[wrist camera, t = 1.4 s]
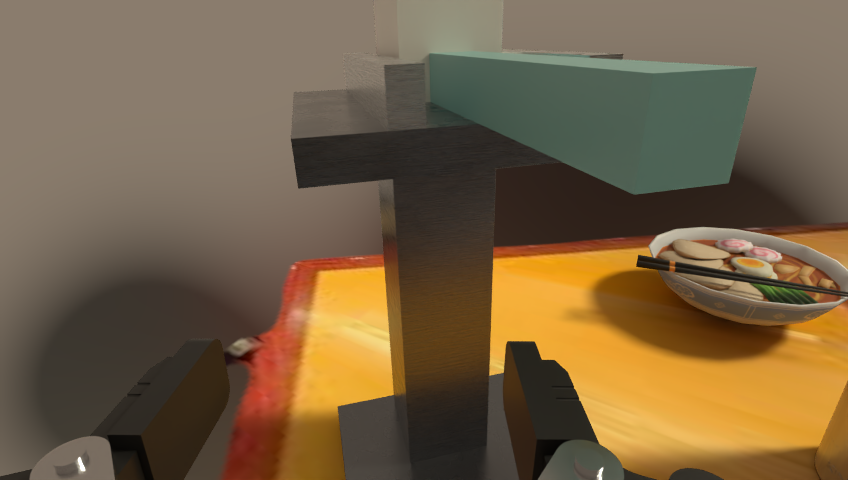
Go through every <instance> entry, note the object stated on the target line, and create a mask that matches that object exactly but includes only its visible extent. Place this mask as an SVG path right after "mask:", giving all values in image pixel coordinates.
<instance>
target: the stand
mask: <svg viewBox="0 0 848 480" xmlns="http://www.w3.org/2000/svg"><path fill="white" fill-rule="evenodd" d="M502 53H513V54H531V55H548V56H566V57H583V58H601V59H618V60H622V59H623V54H616V53H589V52H564V51H539V50H513V49H512V50H510V49H502ZM343 63H344V73H345V84H346V90H330V91H329V90H328V91H311V92H295V93H294V101H293V115H292V131H291V142H292V149H293V155H294V163H295V169H296V176H297V183H298V188H308V187H318V186H328V185H337V184H348V183H358V182H367V181H378V186H379V200H380V213H381V226H382V239H383V252H384V253H383V254H384V267H385V281H386V294H387V307H388V321H389V334H390V348H391V361H392V375H393V388H394V395H392V396H387V397H382V398H377V399H373V400H368V401H363V402H358V403H353V404H348V405H343V406H338V413H339V422H340V431H341V440H342V449H343V458H344V467H345V476H346V480H519V476H518V472H517V467H516V463H515V458H514V453H513V449H512V444H511V439H510V435H509V430H508V425H507V421H506V416H505V411H504V405H503V378H504V373H501V374H496V375H491V376H489V364H490V333H491V302H492V271H493V240H494V210H495V209H494V207H495V206H494V205H495V179H496V169H497V168H507V167H517V166H527V165H537V164H546V163H557V162H562V161H559V160H557V159H555V158H553V157H551V156H548V155H546V154H544V153H542V152H540V151H537V150H535V149H533V148H531V147H529V146H526V145H524V144H522V143H520V142H518V141H515V140H513V139H511V138H509V137H507V136H504V135H502V134H500V133H498V132H496V131H493V130H491V129H489V128H487V127H485V126H482V125H480V124H478V123H476V122H474V121H471V120H469V119H467V118H465V117H463V116H461V115H458V114H456V113H454V112H452V111H450V110H447V109H445V108H443V107H441V106H439V105H436V104H434V103H432V102H426V94H425V63H421V62H415V61H410V60H404V59H398V58H392V57H386V56H381V55H375V54H368V53H348V54H347V53H346V54H343Z"/></svg>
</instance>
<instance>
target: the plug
mask: <svg viewBox="0 0 848 480" xmlns="http://www.w3.org/2000/svg"><path fill="white" fill-rule="evenodd" d="M373 5H374V20H375V35H376V49H377V55H381V56H386V57H392V58H398V59H404V60H410V61H415V62H421V63H425V94H426V102H432V103H434V104H436V105H439V106H441V107H443V108H445V109H447V110H450V111H452V112H454V113H456V114H458V115H461V116H463V117H465V118H467V119H469V120H471V121H474V122H476V123H478V124H480V125H482V126H485V127H487V128H489V129H491V130H493V131H496V132H498V133H500V134H502V135H504V136H507V137H509V138H511V139H513V140H515V141H518V142H520V143H522V144H524V145H526V146H529V147H531V148H533V149H535V150H537V151H540V152H542V153H544V154H546V155H548V156H551V157H553V158H555V159H557V160H559V161H562V162H564V163H566V164H568V165H570V166H573V167H575V168H577V169H579V170H581V171H583V172H586V173H588V174H590V175H592V176H594V177H597V178H599V179H601V180H603V181H605V182H608V183H610V184H612V185H614V186H616V187H619V188H621V189H623V190H625V191H627V192H630V193H632V194H642V193H650V192H658V191H666V190H675V189H682V188H690V187H699V186H707V185H716V184H724V183H729V179H730V175H731V171H732V167H733V163H734V158H735V154H736V150H737V146H738V142H739V138H740V134H741V130H742V126H743V122H744V117H745V113H746V109H747V105H748V101H749V97H750V93H751V89H752V85H753V81H754V77H755V72H756V67H741V66H724V65H705V64H689V63H687V64H686V63H670V62H653V61H636V60H618V59H601V58H583V57H566V56H548V55H531V54H513V53H502V29H503V0H373Z"/></svg>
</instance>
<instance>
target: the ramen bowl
mask: <svg viewBox="0 0 848 480" xmlns="http://www.w3.org/2000/svg"><path fill="white" fill-rule="evenodd" d="M649 249H650V252H651V255H652V257H647V256H641V255H638V260H637V266H636V267H642V268H649V269H656V270H658V272H659V273H660V275H661V277H662V279H663V280H664V282H665V283H666V284H667V286H668V287H669V288H670V289H671V290H672V291H674V292H675V293H676V294H677V295H679V296H680V297H681V298H682V299H683V300H685V301H686V302H687V303H689V304H690V305H692V306H694V307H696V308H698V309H701V310H703V311H705V312H707V313H709V314H711V315H714V316H717V317H721V318H724V319H728V320H731V321H735V322H738V323H745V324H754V325H763V326H774V325H785V324H795V323H803V322H806V321H809V320H812V319H815V318H817V317H819V316H820V315H822V314H824V313H826V312H828V311H830V310H831V309H833V308H835V307H836V306H838V305H840V304H841V303H843V302H844V301H846V300H847V299H848V269H846V268H845V267H844V266H843V265H842V264H840V263H839V262H838V261H837V260H835V259H833V258H830V257H828V256H826V255H824V254H822V253H820V252H818V251H816V250H813V249H811V248H809V247H807V246H804V245H801V244H797V243H794V242H791V241H787V240H784V239H780V238H777V237H774V236H770V235H764V234H759V233H754V232H748V231H743V230H737V229H723V228H708V227H699V228H685V229H675V230H672V231H669V232H666V233H663V234H660V235H657V236H656V237H655V238H654V240H653V241H652V242H651V243H650V245H649Z"/></svg>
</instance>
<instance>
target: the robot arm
mask: <svg viewBox="0 0 848 480" xmlns="http://www.w3.org/2000/svg"><path fill="white" fill-rule="evenodd" d="M229 392H230V385H229V379H228V374H227V368H226V363H225V358H224V353H223V348H222V344H221V342H220V340H218V339H189V340H188V341H186V343H185V344H184V345H183V346H182V347H181V348H180V350H179V351H178V352H177V353H176V354H175V355H174V357H167V358H166V359H164V360H163V361H161V362H160V363H158V364H157V365H155V366H153V367H152V368H150V369H149V370H148V372H147V373H146V374H145V375H144V376H143V377H142V378H141V379H140V380H139V382H138V384H137V385H135V386H134V387H133V388H132V389H131V391H130V392H129V393H128V396H127V397H124V398H123V400H122V401H121V402H120V403H119V404H118V405H117V406H116V407H115V408H114V410H113V411H112V412H111V413H110V414H109V415H108V416H107V418H106V419H105V420H104V421H103V422H102V423H101V424H100V425H99V426H98V428H97V429H96V430H95V431H94V432H93V433H92V434H91V435H90V436H88V437H82V438H78V439H75V440H72V441H69V442H67V443H64V444H62V445H60V446H58V447H57V448H55V449H53V450H52V451H50V452H49V453H48V454H46V455H45V456H44V457H43V458H42V459H40V460H39V462H38V463H37V464H36V465H35V466H34V468H33V469H31V470H27V471H23V472H18V473H14V474H9V475H5V476H1V477H0V480H184V478H185V476H186V474H187V473H188V471H189V469H190V468H191V466H192V464H193V462H194V461H195V459H196V457H197V456H198V454H199V452H200V450H201V449H202V447H203V445H204V443H205V442H206V440H207V438H208V437H209V435H210V433H211V431H212V430H213V428H214V426H215V425H216V423H217V421H218V419H219V418H220V416H221V414H222V412H223V411H224V409H225V407H226V405H227V402H228V398H229ZM503 405H504V411H505V416H506V421H507V425H508V430H509V435H510V439H511V444H512V449H513V453H514V458H515V463H516V467H517V472H518V476H519V480H656V479H653V478H649V477H645V476H641V475H638V474H635V473H633V472H630V471H628V470H626V469H624V468H623V467H622V465H621V463H620V461H619V460H618V459H617V457H616V456H615V455H614V454H613V453H612V452H611V451H609V450H608V449H606V448H605V447H603V446H601V445H600V444H599V442H598V440H597V438H596V435H595V433H594V431H593V429H592V426H591V424H590V422H589V420H588V417H587V415H586V413H585V411H584V408H583V406H582V404H581V401H579V397H578V395H577V392H576V390H575V389H574V386H573V383H572V381H571V379H570V377H569V374H568V372H567V371H566V370H565V369H564V368H563V367H561V366H560V365H559V364H558V363H557V362H556V361H555V360H542V359H541V357H540V354H539V351H538V349H537V346H536V344H535V342H529V341H508V342H507V344H506V353H505V365H504V378H503ZM814 463H815V467H816V471H817V473H818V475H819V476H820V478H821V480H848V381H847V383H846V386H845V388H844V390H843V393H842V395H841V397H840V400H839V402H838V404H837V407H836V409H835V411H834V414H833V416H832V418H831V420H830V422H829V425H828V427H827V429H826V432H825V434H824V436H823V439H822V441H821V443H820V446H819V448H818V450H817V453H816V455H815V462H814ZM669 480H723V479H722V478H720V477H718V476H716V475H714V474H712V473H709V472H707V471H704V470H700V469H693V468H685V469H680V470H677V471H675V472H674V473H673V474H672V475H671V476H670V478H669Z"/></svg>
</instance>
